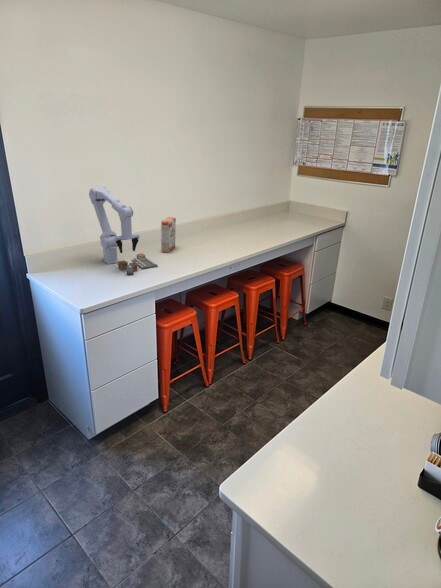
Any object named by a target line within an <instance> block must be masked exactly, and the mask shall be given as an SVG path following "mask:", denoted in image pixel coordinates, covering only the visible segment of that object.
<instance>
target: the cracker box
mask: <svg viewBox="0 0 441 588" xmlns="http://www.w3.org/2000/svg"><path fill="white" fill-rule="evenodd" d="M160 223H161V224H160V226H161V227H160V228H161V229H160V232H161V234H160V236H161V237H160V239H161V240H160V242H161V243H160V244H161V245H160V246H161V251H160V252H161V253H165V254H166V253H170V252H171V251H173V250H174V249H175V248H176V229H177V228H176V224H177V223H176V217H173V216H168V217H167V216H166V218H165V219H163V220H161V222H160Z"/></svg>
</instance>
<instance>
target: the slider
mask: <svg viewBox="0 0 441 588" xmlns="http://www.w3.org/2000/svg"><path fill="white" fill-rule="evenodd" d="M145 257H146V254H145V253H143V252H141V253H140V252H139V253H136V258H137V259H138V260H139V261H144V260H145Z"/></svg>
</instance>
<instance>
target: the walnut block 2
mask: <svg viewBox="0 0 441 588" xmlns="http://www.w3.org/2000/svg"><path fill="white" fill-rule="evenodd" d="M128 263H129V264H128V265H133V273H134V272H138V266H137V263H133V262H128Z"/></svg>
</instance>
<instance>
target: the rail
mask: <svg viewBox="0 0 441 588" xmlns="http://www.w3.org/2000/svg"><path fill="white" fill-rule="evenodd" d="M131 263H137V268H140V269H141V270H147V269H153V268H158V266H159V265H158V264H157V263H155V262H154V261H152V260H151V259H150V258H148V256H147V257H146V256H145V260H144V261H139V260H138V259H137V257H133V259H131Z"/></svg>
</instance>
